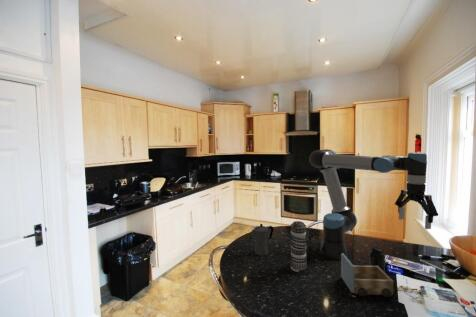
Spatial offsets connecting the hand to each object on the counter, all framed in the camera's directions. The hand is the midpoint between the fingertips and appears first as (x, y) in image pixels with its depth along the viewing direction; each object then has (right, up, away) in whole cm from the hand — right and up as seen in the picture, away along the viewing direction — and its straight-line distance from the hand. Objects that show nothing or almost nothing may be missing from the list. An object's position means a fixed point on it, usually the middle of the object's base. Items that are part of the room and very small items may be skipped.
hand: (413, 223), depth 114 cm
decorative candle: (-58, -26, +6) cm, 64 cm away
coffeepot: (-75, -25, +25) cm, 83 cm away
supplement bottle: (-18, -25, +2) cm, 31 cm away
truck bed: (-31, -26, -11) cm, 42 cm away
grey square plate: (-40, -26, -11) cm, 48 cm away
